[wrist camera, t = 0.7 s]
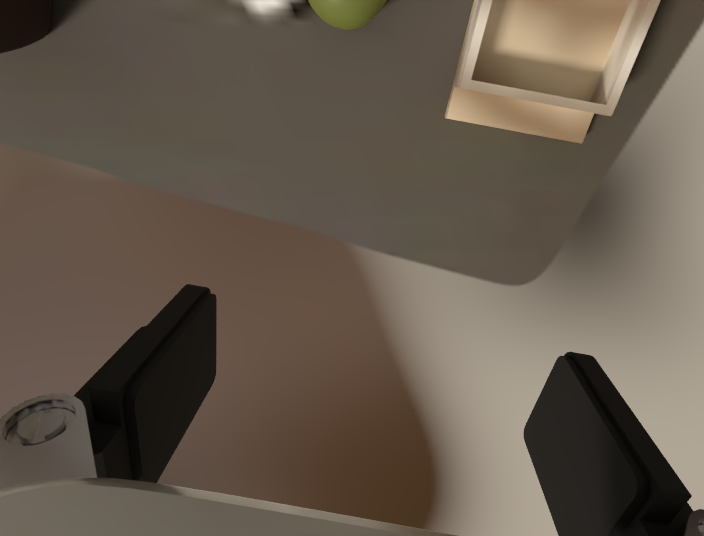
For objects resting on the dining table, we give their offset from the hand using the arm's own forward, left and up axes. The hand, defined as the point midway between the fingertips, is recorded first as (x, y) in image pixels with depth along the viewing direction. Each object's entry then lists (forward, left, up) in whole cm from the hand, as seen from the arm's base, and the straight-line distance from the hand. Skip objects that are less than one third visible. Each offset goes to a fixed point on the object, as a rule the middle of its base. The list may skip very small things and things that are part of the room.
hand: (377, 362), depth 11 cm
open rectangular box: (-14, +9, -25) cm, 29 cm away
